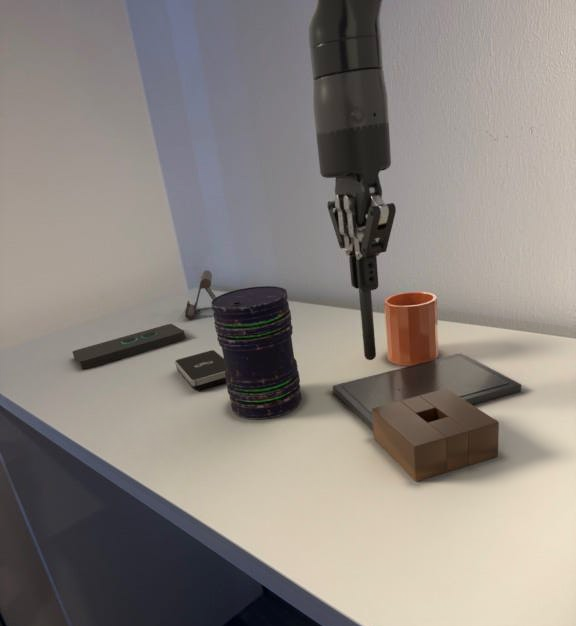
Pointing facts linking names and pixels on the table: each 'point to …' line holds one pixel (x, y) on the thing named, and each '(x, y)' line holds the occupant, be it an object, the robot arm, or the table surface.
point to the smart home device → (128, 345)
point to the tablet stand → (205, 284)
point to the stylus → (367, 324)
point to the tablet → (425, 384)
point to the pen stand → (435, 433)
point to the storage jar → (258, 351)
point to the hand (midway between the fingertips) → (364, 287)
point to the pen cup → (411, 328)
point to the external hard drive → (202, 369)
